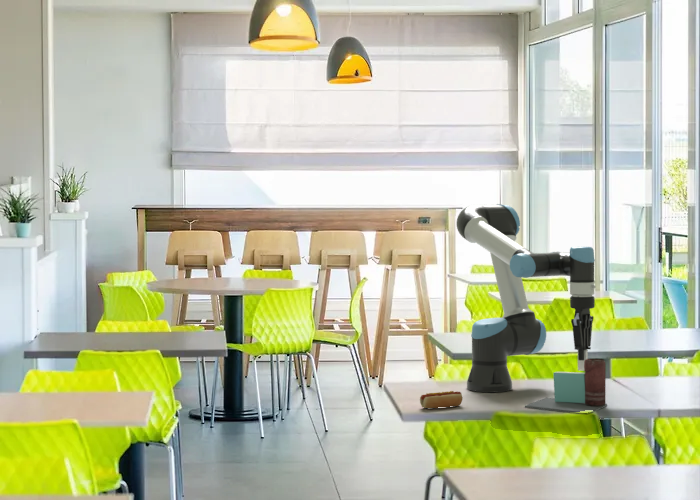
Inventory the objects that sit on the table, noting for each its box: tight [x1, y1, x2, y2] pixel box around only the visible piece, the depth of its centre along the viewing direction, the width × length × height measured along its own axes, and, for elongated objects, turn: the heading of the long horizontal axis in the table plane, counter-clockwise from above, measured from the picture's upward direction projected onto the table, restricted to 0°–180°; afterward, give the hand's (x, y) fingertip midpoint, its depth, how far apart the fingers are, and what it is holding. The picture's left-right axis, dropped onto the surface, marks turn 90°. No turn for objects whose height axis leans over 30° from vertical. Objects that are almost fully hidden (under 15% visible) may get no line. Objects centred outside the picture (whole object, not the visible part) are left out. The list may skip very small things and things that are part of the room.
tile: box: [553, 371, 585, 403], centre depth 330 cm, size 10×2×9 cm, turn 56°
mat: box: [524, 397, 608, 413], centre depth 327 cm, size 20×16×1 cm
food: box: [419, 390, 464, 409], centre depth 327 cm, size 14×6×5 cm, turn 114°
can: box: [583, 358, 607, 407], centre depth 325 cm, size 6×6×14 cm
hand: (582, 370), depth 337 cm, fingers closed
